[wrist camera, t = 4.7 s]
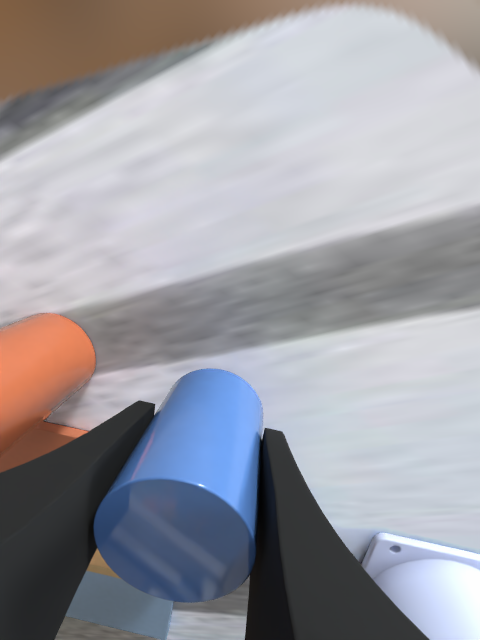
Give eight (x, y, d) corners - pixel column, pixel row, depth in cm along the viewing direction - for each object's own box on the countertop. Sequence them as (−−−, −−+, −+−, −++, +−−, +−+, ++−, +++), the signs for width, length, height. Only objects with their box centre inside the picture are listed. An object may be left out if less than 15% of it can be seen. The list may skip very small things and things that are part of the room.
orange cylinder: (97, 322, 14) (-5, 381, 9) (94, 398, 15) (3, 489, 10) (13, 304, 14) (-137, 352, 9) (17, 381, 16) (-113, 462, 10)
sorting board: (198, 455, 16) (189, 483, 14) (169, 629, 20) (159, 667, 18) (-28, 405, 16) (-63, 426, 15) (-9, 586, 21) (-34, 619, 19)
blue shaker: (272, 380, 12) (272, 501, 7) (252, 462, 13) (239, 619, 8) (171, 358, 12) (95, 460, 7) (161, 442, 13) (89, 582, 8)
